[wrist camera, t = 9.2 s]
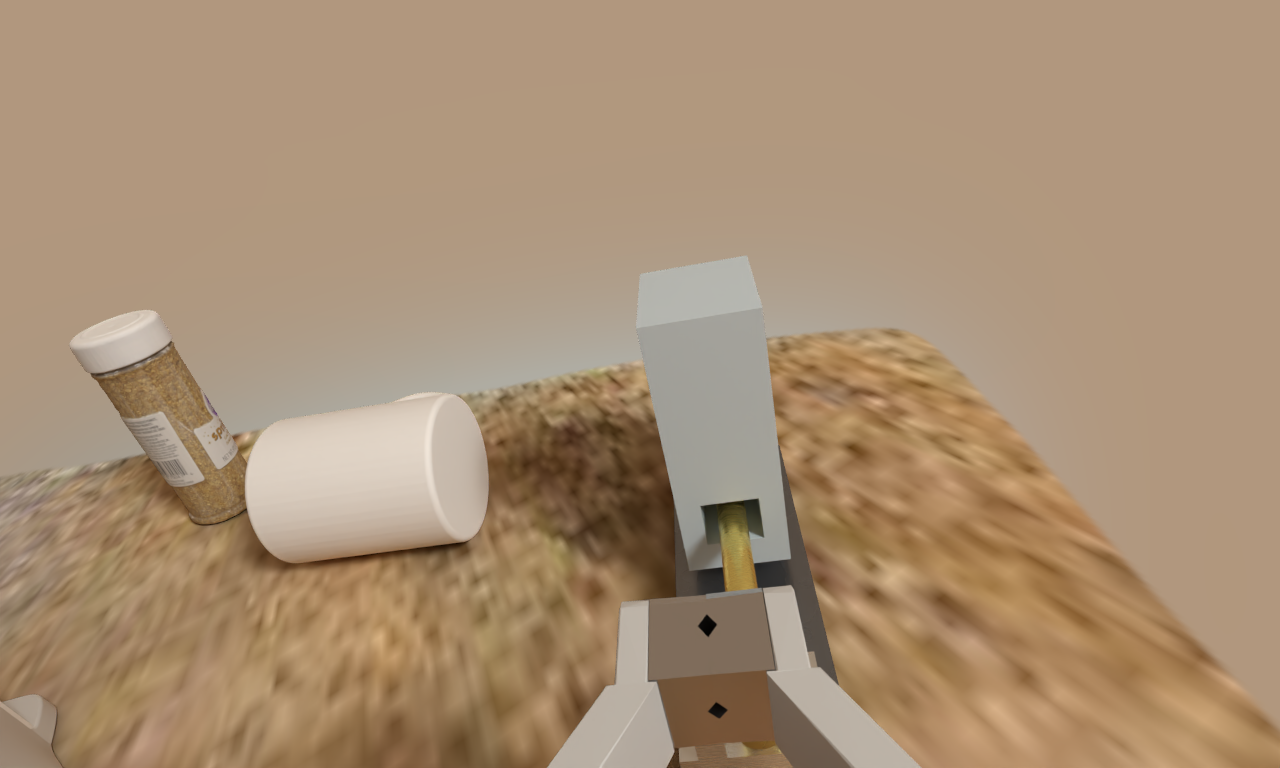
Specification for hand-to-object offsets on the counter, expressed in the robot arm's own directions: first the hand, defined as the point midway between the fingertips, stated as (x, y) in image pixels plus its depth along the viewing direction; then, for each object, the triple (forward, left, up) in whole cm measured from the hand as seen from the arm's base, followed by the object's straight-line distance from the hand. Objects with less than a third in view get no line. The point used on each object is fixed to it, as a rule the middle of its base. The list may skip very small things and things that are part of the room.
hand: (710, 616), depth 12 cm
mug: (-19, +23, -15) cm, 33 cm away
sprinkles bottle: (-33, +26, -15) cm, 44 cm away
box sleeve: (0, +16, -13) cm, 20 cm away
